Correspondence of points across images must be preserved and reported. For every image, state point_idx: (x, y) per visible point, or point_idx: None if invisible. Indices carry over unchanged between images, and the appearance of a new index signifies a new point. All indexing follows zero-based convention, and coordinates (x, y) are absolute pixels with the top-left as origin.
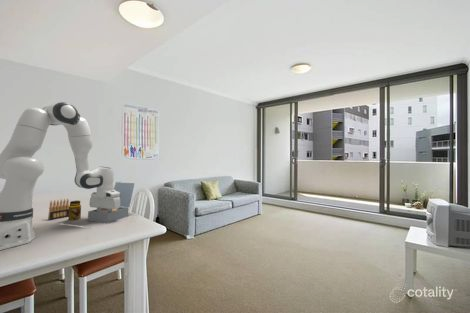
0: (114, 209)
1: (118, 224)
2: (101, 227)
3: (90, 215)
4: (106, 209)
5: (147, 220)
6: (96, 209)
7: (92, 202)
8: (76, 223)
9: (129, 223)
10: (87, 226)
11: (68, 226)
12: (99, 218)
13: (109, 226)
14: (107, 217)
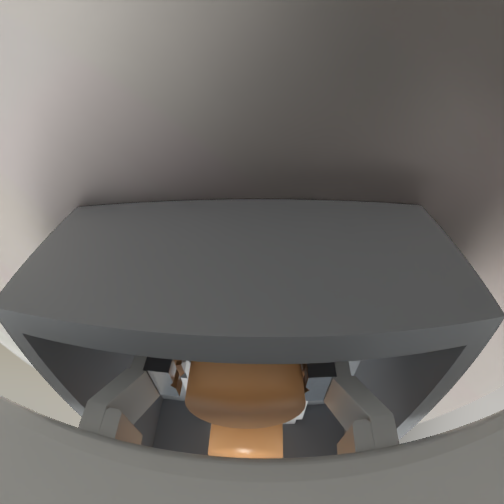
0: (215, 451)
1: (18, 243)
2: (37, 96)
3: (427, 265)
4: None
5: (13, 349)
6: (423, 411)
7: (499, 499)
8: (499, 131)
9: (2, 286)
10: (243, 27)
11: (484, 7)
12: (197, 241)
13: (12, 164)
14: (35, 259)
